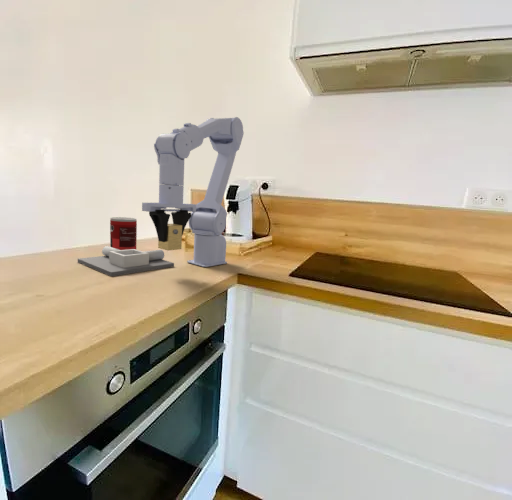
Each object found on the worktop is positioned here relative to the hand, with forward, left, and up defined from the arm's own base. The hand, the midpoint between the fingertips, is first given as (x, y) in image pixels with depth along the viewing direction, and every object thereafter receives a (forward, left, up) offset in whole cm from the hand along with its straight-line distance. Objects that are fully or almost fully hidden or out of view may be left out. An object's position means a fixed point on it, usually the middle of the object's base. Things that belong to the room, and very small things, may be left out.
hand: (170, 240), depth 79 cm
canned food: (-5, -31, -9) cm, 33 cm away
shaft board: (+3, -15, -9) cm, 18 cm away
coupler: (0, 0, -2) cm, 2 cm away
